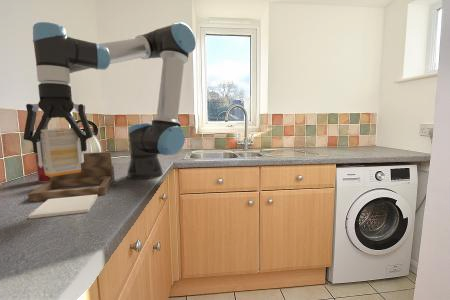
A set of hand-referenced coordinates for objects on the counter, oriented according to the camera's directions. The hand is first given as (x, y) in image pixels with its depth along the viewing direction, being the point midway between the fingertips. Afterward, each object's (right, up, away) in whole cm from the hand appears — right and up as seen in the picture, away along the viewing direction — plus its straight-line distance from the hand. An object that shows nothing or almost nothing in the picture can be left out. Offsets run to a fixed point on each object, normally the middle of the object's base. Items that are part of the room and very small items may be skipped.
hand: (62, 163), depth 72 cm
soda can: (-27, -9, +33) cm, 44 cm away
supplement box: (0, -3, 0) cm, 3 cm away
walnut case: (-7, -11, +19) cm, 23 cm away
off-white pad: (0, -13, +2) cm, 13 cm away
